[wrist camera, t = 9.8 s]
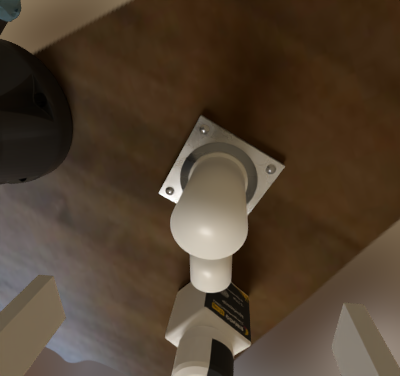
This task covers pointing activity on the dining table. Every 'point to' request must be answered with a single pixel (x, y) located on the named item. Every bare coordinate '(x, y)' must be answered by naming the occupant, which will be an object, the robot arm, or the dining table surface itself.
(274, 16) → the dining table surface
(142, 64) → the dining table surface
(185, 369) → the medicine bottle
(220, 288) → the elbow
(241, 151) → the flange plate
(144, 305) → the dining table surface
